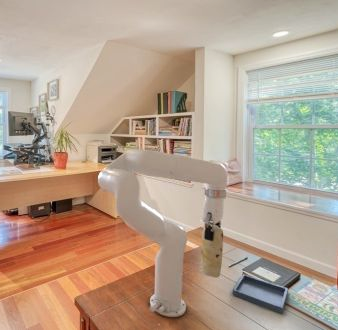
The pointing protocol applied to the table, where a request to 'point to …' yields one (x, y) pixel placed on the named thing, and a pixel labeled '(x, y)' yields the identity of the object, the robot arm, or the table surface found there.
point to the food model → (212, 253)
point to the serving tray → (261, 293)
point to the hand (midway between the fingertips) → (212, 236)
